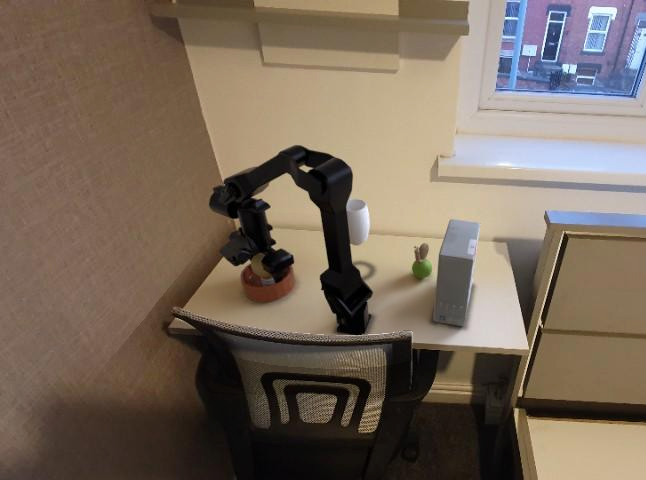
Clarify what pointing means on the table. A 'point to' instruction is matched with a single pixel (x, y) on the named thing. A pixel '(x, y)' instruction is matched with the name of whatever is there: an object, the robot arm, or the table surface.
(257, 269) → the light bulb
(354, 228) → the cup
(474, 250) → the hard drive box
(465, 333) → the table surface
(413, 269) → the snail figurine
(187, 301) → the table surface
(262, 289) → the bowl
